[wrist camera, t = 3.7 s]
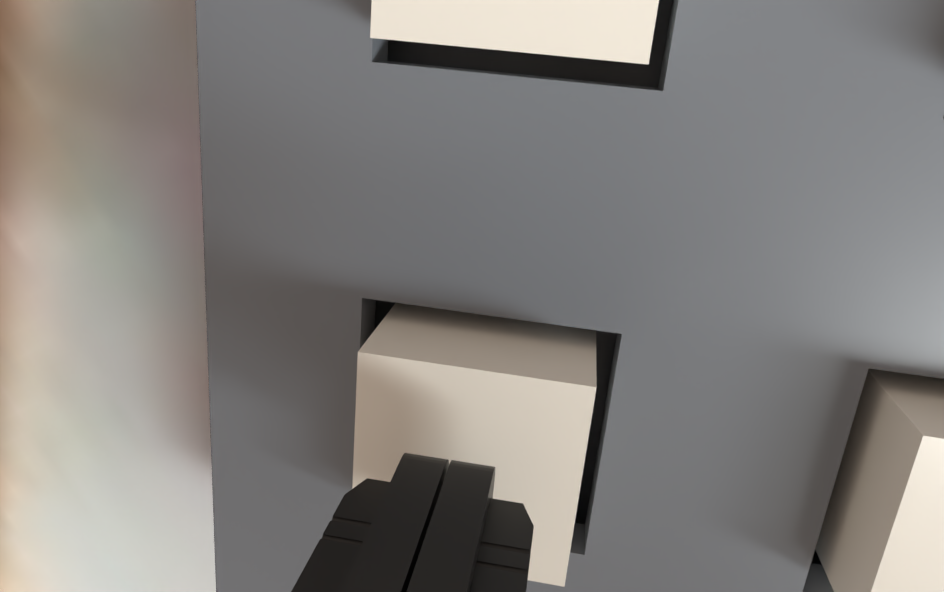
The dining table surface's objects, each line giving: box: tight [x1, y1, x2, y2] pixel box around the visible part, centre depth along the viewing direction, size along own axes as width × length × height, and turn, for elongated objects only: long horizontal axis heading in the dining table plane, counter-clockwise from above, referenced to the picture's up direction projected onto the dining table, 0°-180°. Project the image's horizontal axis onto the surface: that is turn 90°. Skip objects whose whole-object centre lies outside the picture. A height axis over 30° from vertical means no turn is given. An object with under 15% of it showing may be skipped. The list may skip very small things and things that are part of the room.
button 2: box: [352, 303, 597, 587], centre depth 14 cm, size 4×4×3 cm
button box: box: [196, 0, 944, 592], centre depth 14 cm, size 20×20×4 cm
